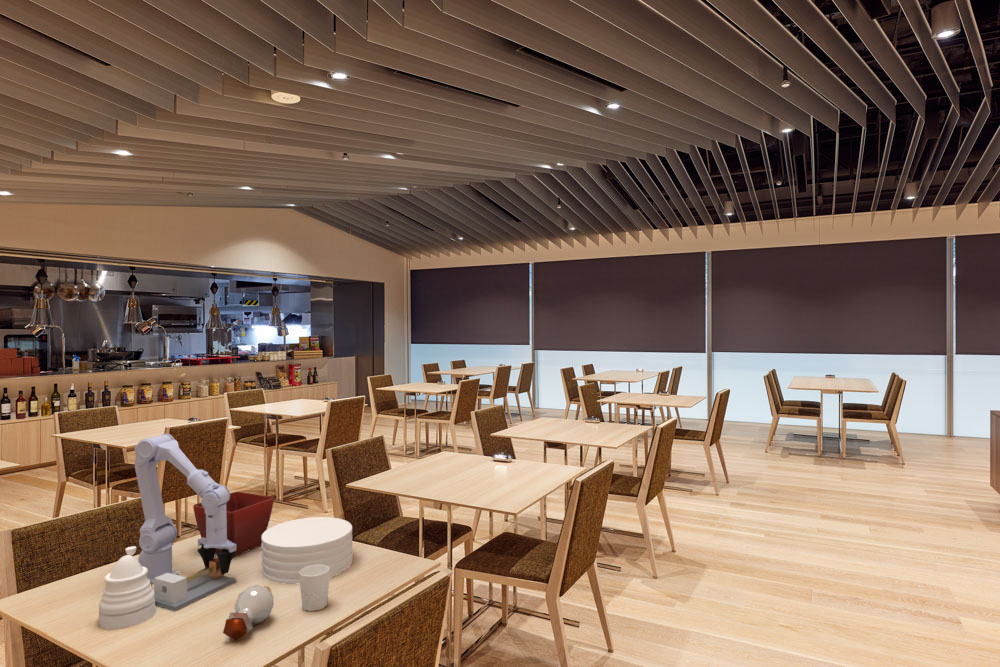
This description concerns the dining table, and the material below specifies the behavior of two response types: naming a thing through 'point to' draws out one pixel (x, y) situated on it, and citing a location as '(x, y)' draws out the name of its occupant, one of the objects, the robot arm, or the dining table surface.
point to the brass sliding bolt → (207, 571)
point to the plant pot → (241, 519)
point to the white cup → (314, 587)
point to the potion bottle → (249, 611)
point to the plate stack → (306, 547)
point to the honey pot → (126, 594)
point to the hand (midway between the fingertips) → (217, 571)
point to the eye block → (185, 589)
